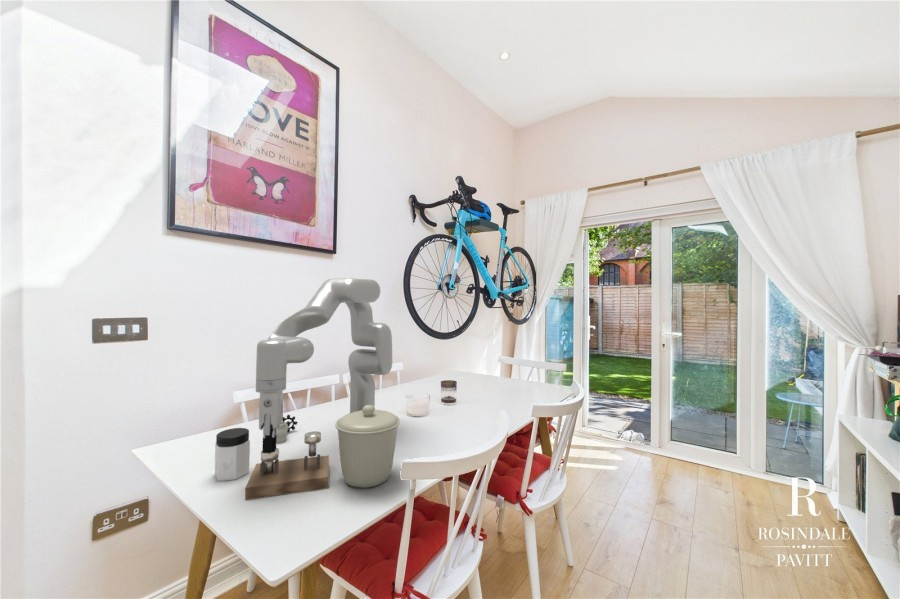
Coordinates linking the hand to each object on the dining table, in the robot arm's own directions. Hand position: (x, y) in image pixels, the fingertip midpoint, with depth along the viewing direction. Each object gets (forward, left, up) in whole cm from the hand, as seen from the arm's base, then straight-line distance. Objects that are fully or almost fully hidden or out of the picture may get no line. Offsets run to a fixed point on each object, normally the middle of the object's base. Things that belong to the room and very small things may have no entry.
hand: (269, 451), depth 97 cm
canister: (-26, +5, -9) cm, 28 cm away
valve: (0, -35, -9) cm, 36 cm away
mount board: (-6, 0, -9) cm, 11 cm away
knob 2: (-11, 0, -3) cm, 11 cm away
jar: (+11, -9, -9) cm, 17 cm away
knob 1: (0, 0, -6) cm, 6 cm away
